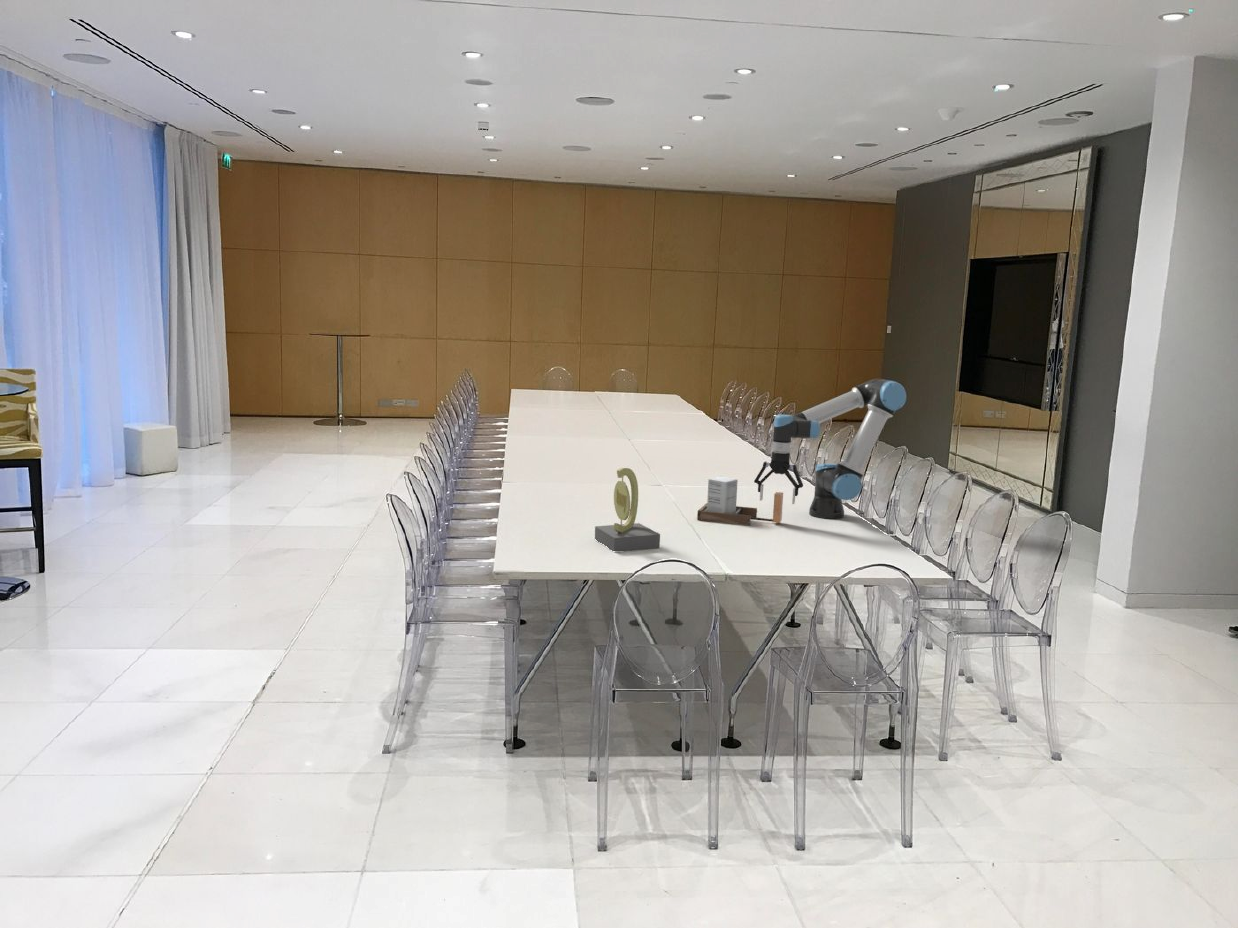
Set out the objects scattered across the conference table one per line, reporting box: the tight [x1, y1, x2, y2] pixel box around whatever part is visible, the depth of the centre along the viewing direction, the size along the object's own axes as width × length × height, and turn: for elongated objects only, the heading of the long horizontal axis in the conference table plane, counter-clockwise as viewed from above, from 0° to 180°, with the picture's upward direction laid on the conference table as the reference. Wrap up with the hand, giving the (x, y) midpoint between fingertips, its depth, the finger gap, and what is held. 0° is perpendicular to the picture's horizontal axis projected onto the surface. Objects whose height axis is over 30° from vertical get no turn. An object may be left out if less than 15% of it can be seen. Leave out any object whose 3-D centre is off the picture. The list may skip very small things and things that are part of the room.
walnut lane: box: [696, 503, 758, 526], centre depth 427 cm, size 17×22×4 cm
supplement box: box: [707, 476, 739, 514], centre depth 426 cm, size 10×9×17 cm
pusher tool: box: [704, 491, 784, 524], centre depth 424 cm, size 13×32×12 cm, turn 72°
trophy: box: [594, 467, 661, 552], centre depth 377 cm, size 19×19×30 cm
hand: (777, 501), depth 419 cm, fingers open, 13 cm apart
